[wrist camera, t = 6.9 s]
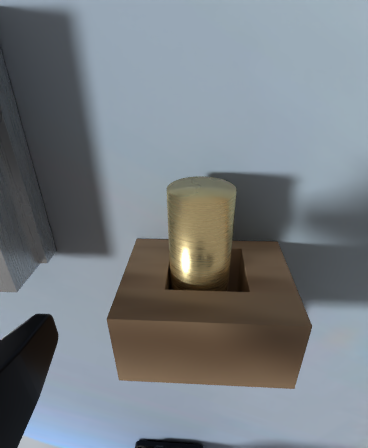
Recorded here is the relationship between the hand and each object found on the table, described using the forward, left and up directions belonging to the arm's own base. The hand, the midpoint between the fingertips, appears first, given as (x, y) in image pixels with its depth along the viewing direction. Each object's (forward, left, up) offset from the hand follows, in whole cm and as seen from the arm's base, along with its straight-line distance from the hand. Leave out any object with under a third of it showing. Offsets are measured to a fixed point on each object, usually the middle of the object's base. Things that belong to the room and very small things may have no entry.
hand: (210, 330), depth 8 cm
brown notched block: (-6, 0, -8) cm, 11 cm away
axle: (-3, 0, -8) cm, 8 cm away
